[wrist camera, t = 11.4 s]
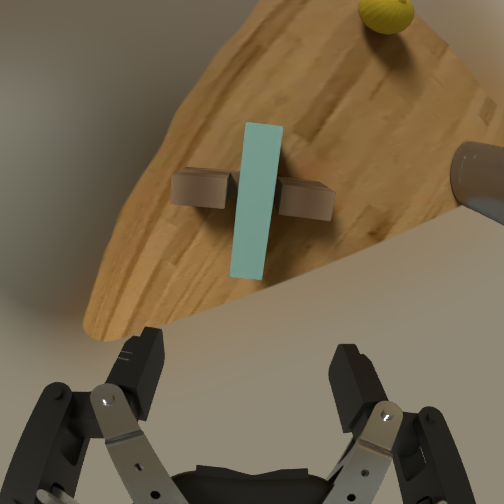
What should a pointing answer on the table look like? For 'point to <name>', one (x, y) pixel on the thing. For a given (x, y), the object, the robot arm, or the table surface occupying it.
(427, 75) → the table surface
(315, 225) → the table surface
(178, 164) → the table surface
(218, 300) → the table surface
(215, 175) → the brown wooden u-shaped block
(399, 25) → the lemon
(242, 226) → the teal arch block
